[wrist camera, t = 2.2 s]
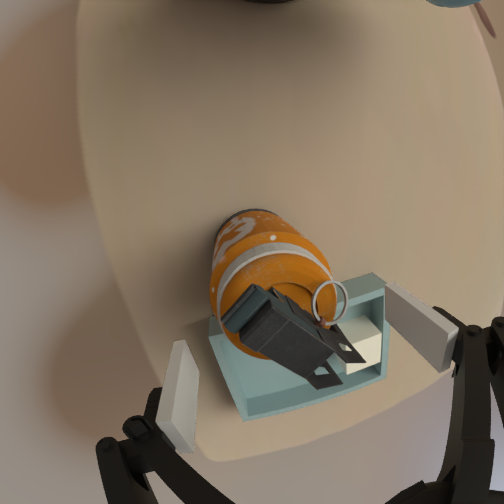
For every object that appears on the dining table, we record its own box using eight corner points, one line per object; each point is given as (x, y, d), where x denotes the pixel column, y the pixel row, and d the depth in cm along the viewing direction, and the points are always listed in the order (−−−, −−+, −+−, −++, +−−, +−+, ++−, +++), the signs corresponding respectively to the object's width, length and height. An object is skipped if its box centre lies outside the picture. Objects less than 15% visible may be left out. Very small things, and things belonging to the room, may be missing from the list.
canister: (249, 191, 30) (296, 224, 11) (319, 252, 32) (421, 345, 13) (198, 253, 31) (167, 369, 12) (270, 306, 34) (317, 437, 15)
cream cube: (331, 325, 35) (345, 346, 30) (364, 314, 35) (381, 332, 30) (334, 353, 36) (346, 374, 31) (365, 342, 36) (380, 361, 32)
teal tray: (209, 317, 33) (208, 336, 29) (373, 272, 34) (390, 285, 30) (240, 400, 38) (243, 421, 34) (373, 361, 39) (385, 377, 34)
